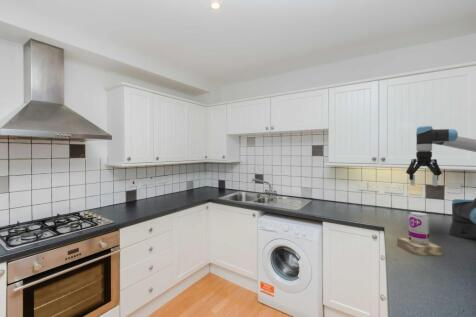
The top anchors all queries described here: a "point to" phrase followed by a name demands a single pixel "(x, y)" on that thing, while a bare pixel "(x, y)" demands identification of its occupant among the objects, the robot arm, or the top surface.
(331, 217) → the top surface
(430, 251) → the oak base
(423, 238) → the supplement can
